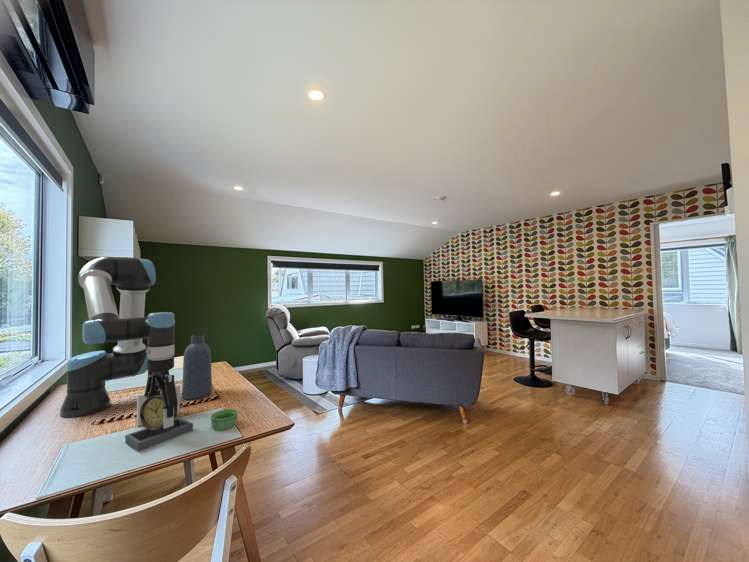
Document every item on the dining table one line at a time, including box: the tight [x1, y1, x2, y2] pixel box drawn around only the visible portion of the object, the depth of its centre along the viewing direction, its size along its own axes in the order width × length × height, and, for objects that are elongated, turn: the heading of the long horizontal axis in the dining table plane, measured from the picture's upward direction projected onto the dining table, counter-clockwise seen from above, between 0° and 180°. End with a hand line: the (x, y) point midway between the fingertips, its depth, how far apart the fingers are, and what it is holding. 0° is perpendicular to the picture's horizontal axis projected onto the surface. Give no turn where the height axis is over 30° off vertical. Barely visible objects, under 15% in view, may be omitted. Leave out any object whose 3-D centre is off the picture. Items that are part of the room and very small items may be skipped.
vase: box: [181, 334, 213, 400], centre depth 140 cm, size 12×12×28 cm
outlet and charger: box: [136, 384, 181, 427], centre depth 111 cm, size 12×14×11 cm
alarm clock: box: [140, 385, 178, 433], centre depth 101 cm, size 11×5×16 cm, turn 82°
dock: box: [124, 416, 194, 453], centre depth 100 cm, size 10×16×2 cm, turn 148°
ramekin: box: [210, 408, 239, 432], centre depth 108 cm, size 9×9×4 cm
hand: (160, 422), depth 101 cm, fingers closed on alarm clock, 11 cm apart
